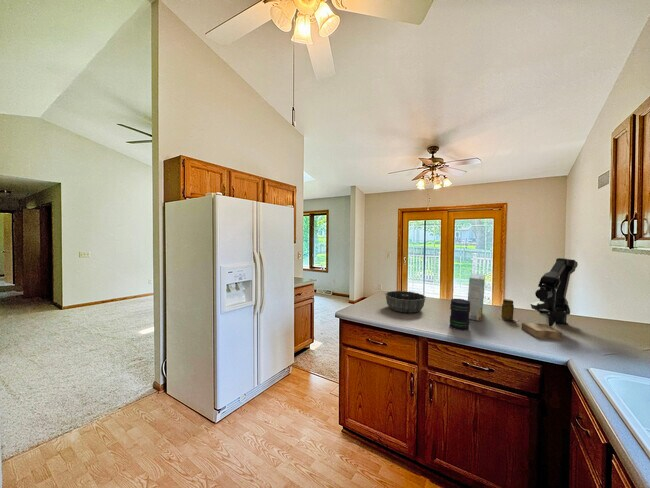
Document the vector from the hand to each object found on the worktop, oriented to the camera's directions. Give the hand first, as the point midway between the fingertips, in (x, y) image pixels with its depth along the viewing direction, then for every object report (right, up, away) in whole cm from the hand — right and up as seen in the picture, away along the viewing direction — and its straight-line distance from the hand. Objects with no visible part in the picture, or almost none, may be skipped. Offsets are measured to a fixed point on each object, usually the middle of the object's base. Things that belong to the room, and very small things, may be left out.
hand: (547, 324), depth 150 cm
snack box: (-31, 0, +18) cm, 36 cm away
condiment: (-14, -1, +12) cm, 18 cm away
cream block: (0, -2, 0) cm, 2 cm away
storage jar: (-52, -1, -3) cm, 52 cm away
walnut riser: (-12, -2, -11) cm, 16 cm away
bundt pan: (-73, +1, +29) cm, 78 cm away
